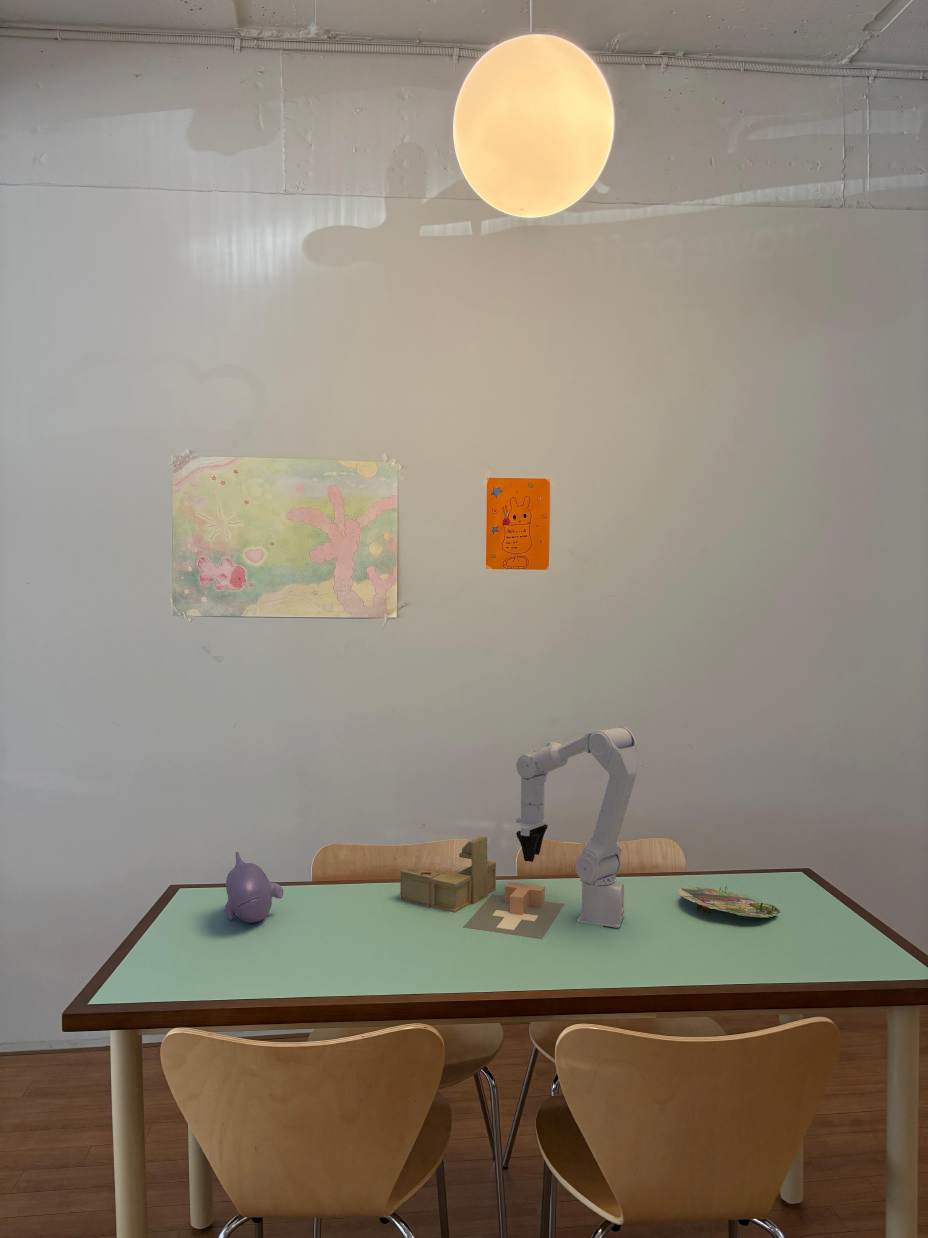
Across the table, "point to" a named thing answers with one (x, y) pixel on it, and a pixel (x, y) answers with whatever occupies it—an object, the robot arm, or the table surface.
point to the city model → (726, 902)
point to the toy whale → (249, 892)
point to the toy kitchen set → (452, 881)
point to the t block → (523, 897)
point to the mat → (514, 918)
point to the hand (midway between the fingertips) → (532, 857)
